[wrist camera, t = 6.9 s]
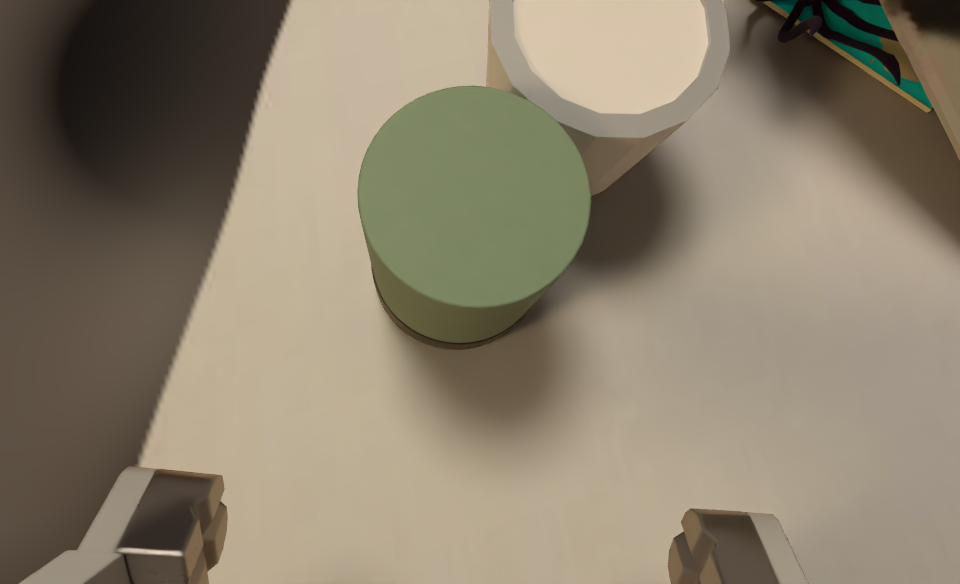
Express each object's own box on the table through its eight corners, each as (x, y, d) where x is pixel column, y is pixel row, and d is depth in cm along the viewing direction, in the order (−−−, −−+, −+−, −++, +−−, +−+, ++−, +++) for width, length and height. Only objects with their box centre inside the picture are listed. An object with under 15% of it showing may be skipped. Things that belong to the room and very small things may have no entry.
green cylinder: (562, 243, 24) (632, 154, 17) (487, 381, 23) (526, 355, 15) (425, 167, 24) (431, 43, 17) (343, 300, 23) (308, 233, 15)
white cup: (483, 32, 26) (509, -111, 19) (656, 69, 26) (742, -59, 19) (452, 199, 24) (468, 108, 17) (636, 235, 25) (722, 160, 18)
